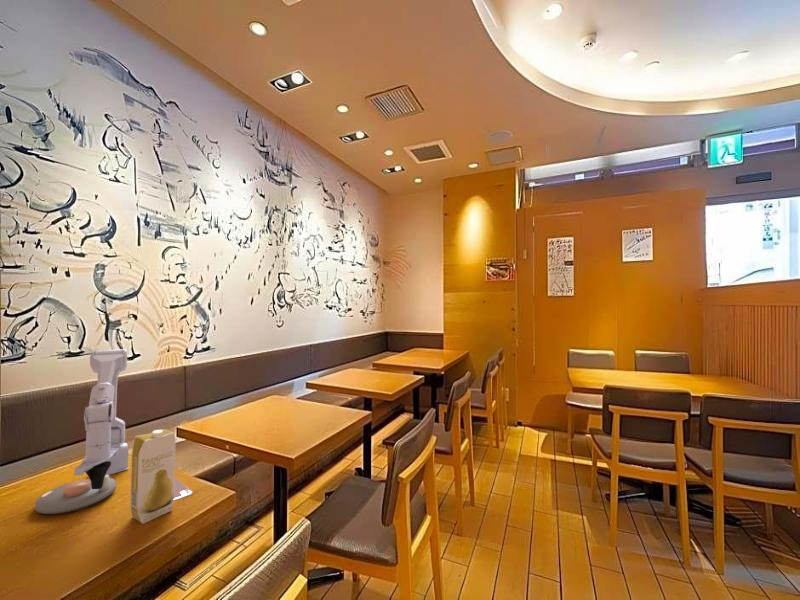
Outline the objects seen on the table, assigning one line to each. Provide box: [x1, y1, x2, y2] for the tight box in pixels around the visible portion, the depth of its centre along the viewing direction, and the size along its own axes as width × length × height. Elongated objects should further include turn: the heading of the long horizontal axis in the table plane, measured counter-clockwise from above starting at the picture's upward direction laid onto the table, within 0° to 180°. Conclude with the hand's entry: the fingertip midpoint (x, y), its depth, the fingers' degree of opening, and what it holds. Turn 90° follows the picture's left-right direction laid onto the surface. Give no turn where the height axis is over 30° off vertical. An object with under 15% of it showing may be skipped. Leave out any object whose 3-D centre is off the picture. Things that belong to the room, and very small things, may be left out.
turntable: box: [34, 475, 117, 515], centre depth 105 cm, size 18×18×5 cm
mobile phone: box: [173, 477, 193, 502], centre depth 111 cm, size 8×1×15 cm
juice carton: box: [130, 428, 176, 525], centre depth 99 cm, size 9×8×24 cm
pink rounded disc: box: [63, 478, 90, 498], centre depth 105 cm, size 6×6×2 cm
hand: (97, 488), depth 104 cm, fingers closed
